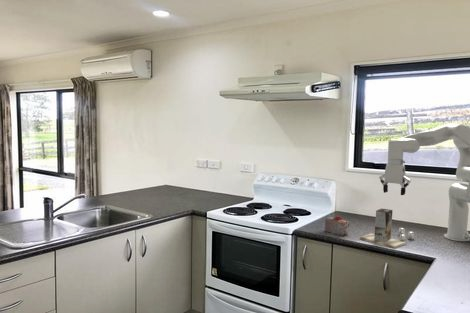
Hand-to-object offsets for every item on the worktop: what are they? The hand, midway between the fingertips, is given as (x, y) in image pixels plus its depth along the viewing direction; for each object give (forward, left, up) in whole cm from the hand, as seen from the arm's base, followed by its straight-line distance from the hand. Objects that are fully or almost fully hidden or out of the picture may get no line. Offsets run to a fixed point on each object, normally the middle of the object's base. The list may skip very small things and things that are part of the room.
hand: (394, 193), depth 210 cm
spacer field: (+2, -10, -26) cm, 28 cm away
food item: (+26, +13, -27) cm, 40 cm away
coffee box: (+2, +5, -25) cm, 26 cm away
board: (+2, +5, -26) cm, 27 cm away
